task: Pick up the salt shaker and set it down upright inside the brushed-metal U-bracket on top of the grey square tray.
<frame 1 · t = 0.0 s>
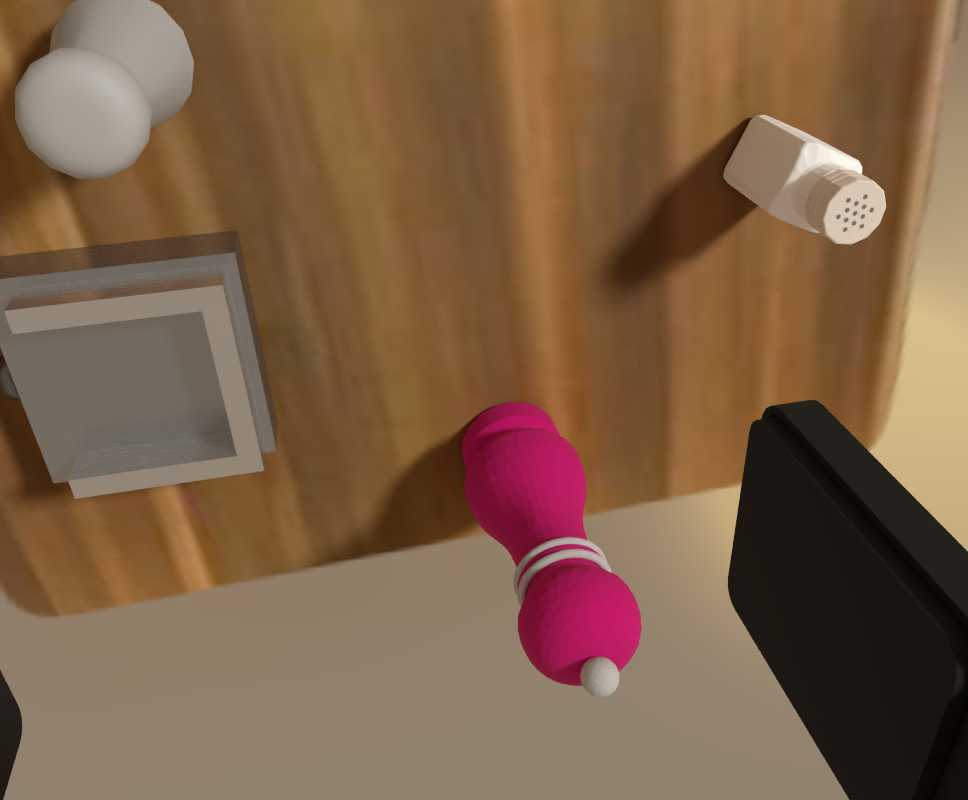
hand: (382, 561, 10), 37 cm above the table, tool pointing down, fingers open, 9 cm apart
salt shaker: (132, 51, 40), on the table
salt shaker 2: (760, 154, 49), on the table
pepper mill: (508, 440, 56), on the table
grey square tray: (146, 346, 47), on the table
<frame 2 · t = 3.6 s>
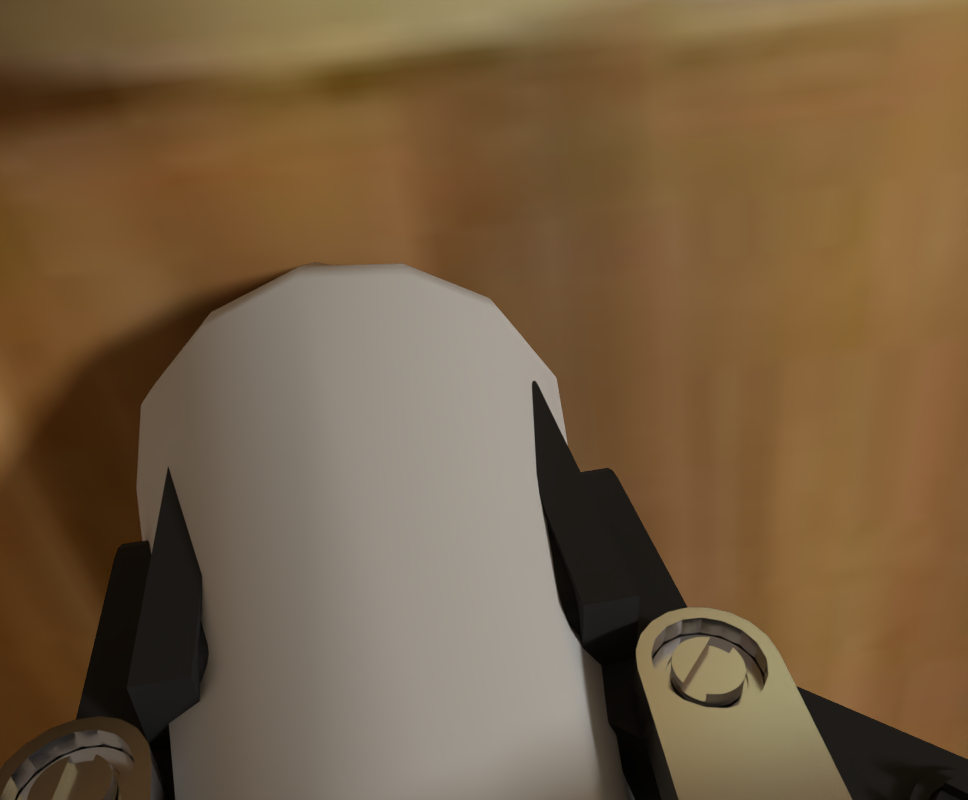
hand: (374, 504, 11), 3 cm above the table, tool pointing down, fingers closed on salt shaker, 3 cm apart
salt shaker: (349, 373, 14), on the table, touching gripper
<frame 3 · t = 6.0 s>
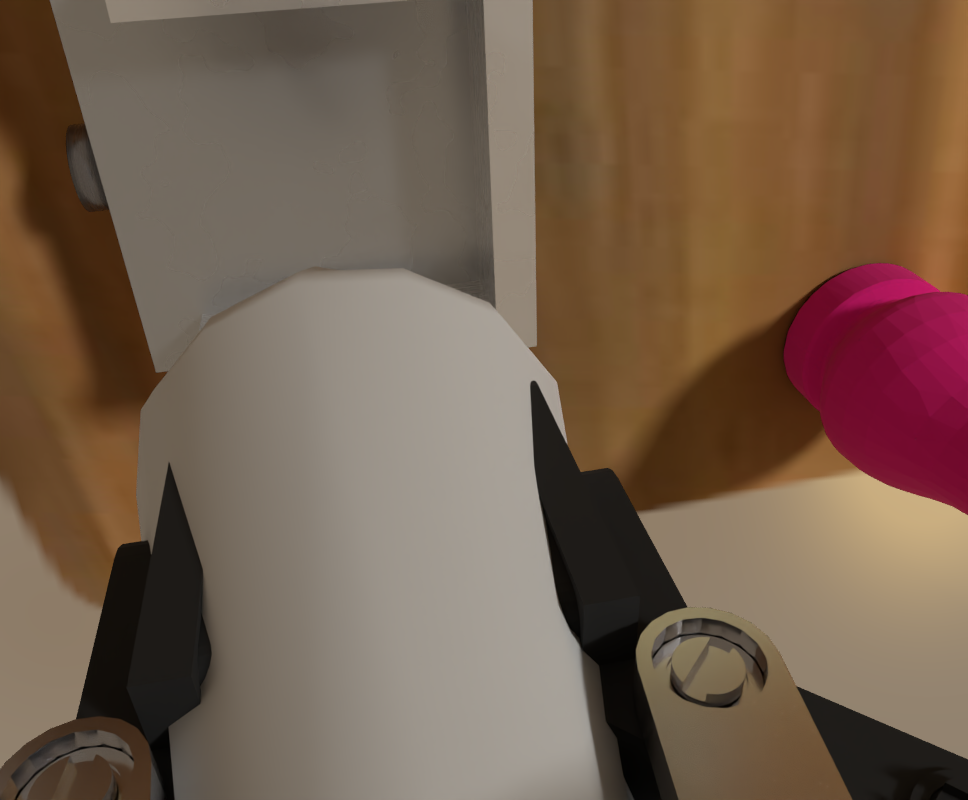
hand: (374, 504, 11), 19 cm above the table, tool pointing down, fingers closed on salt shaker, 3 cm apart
salt shaker: (350, 377, 14), point 15 cm above the table, touching gripper
pepper mill: (851, 331, 35), on the table
grey square tray: (320, 132, 27), on the table
when the fingers open (8 cm above the table, at t = 8.6 s): salt shaker drops 1 cm, resting on grey square tray.
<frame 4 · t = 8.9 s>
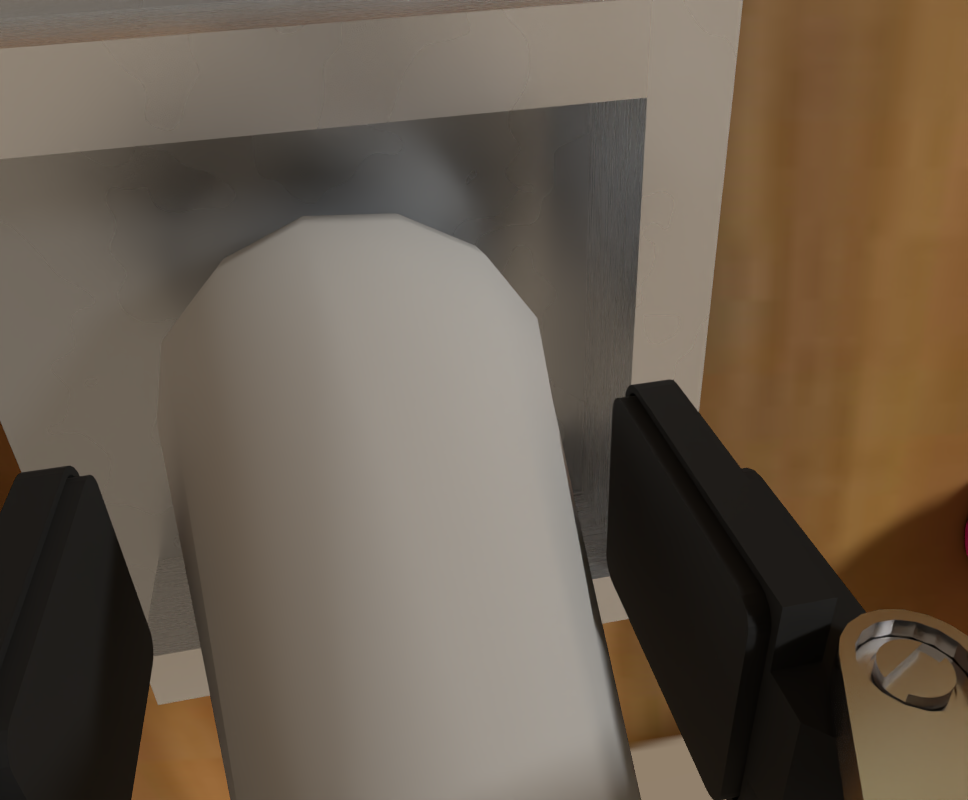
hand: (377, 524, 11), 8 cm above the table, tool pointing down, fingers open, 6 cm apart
salt shaker: (348, 327, 15), point 3 cm above the table, touching grey square tray
grey square tray: (340, 269, 18), on the table
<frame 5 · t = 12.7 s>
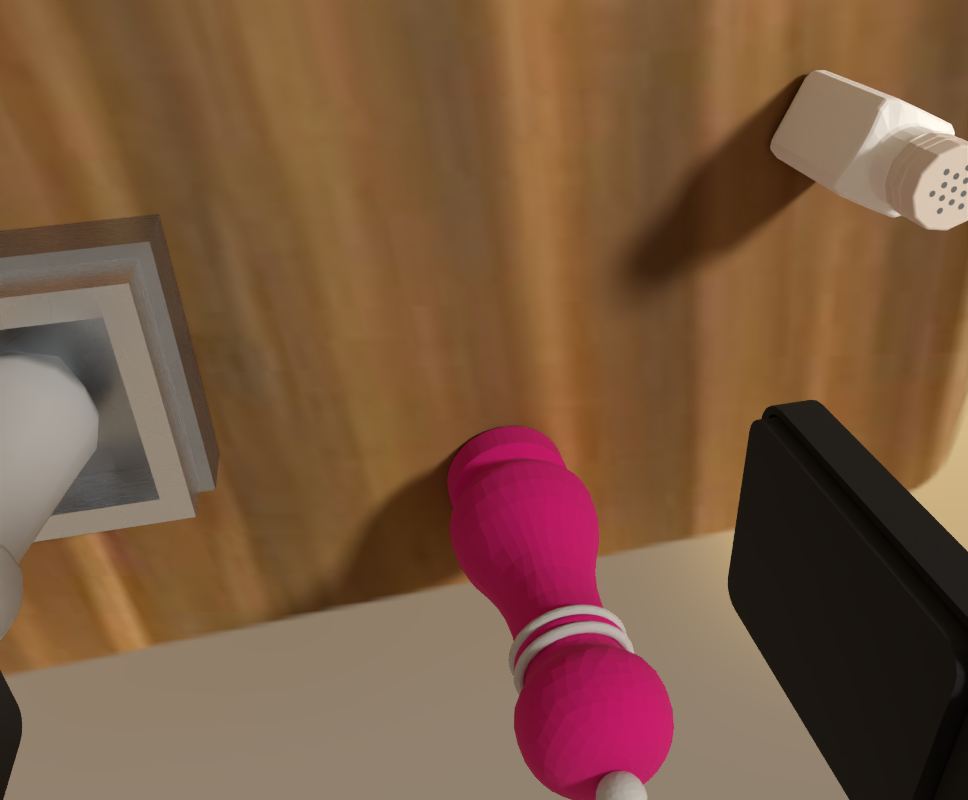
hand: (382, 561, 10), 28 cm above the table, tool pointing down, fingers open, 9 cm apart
salt shaker: (34, 391, 36), point 3 cm above the table, touching grey square tray
salt shaker 2: (815, 121, 39), on the table
pepper mill: (503, 471, 46), on the table
grey square tray: (50, 361, 38), on the table
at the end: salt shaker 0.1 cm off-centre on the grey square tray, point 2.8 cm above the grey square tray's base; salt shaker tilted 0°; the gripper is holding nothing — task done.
